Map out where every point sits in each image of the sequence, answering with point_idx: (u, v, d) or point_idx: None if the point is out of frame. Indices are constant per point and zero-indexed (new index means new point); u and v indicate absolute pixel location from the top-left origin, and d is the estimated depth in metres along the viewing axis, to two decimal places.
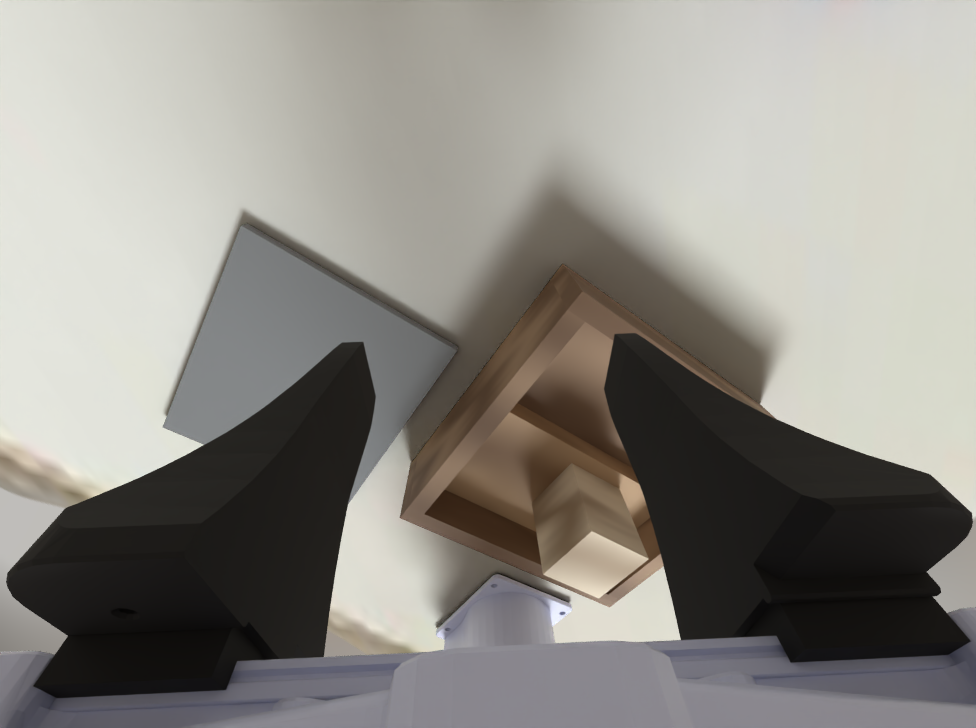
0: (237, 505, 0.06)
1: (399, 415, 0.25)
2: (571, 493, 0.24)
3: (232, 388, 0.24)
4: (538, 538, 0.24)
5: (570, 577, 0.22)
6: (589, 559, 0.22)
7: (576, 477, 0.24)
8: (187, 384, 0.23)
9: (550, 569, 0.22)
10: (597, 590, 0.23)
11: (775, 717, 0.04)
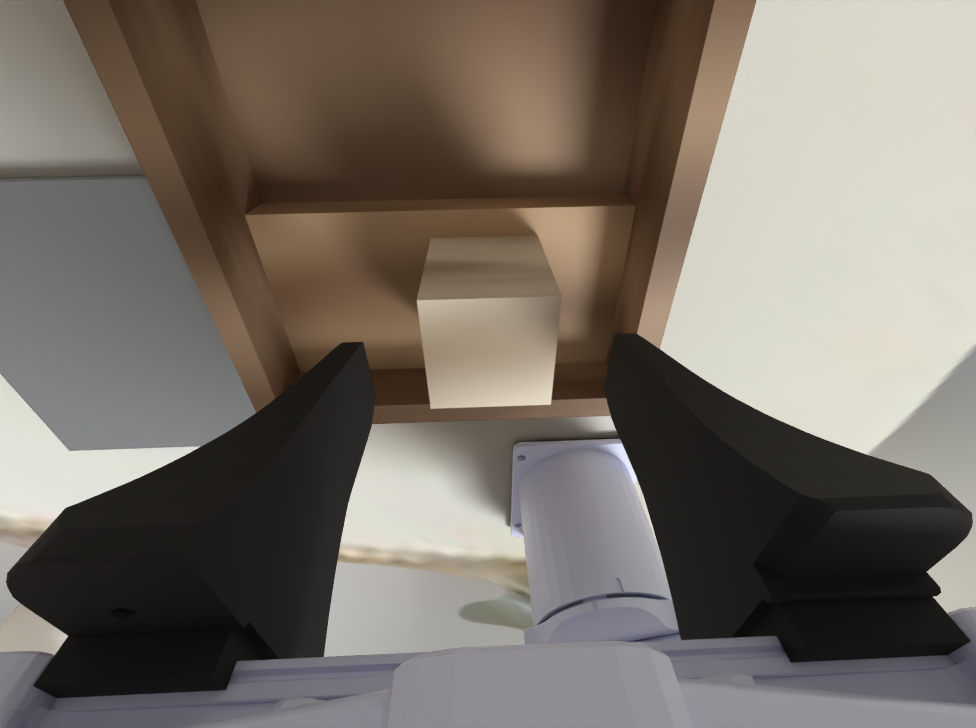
0: (237, 505, 0.06)
1: None
2: None
3: (61, 380, 0.20)
4: None
5: (471, 393, 0.13)
6: (466, 350, 0.12)
7: (430, 249, 0.14)
8: (31, 399, 0.21)
9: (432, 396, 0.13)
10: (535, 393, 0.13)
11: (775, 717, 0.04)
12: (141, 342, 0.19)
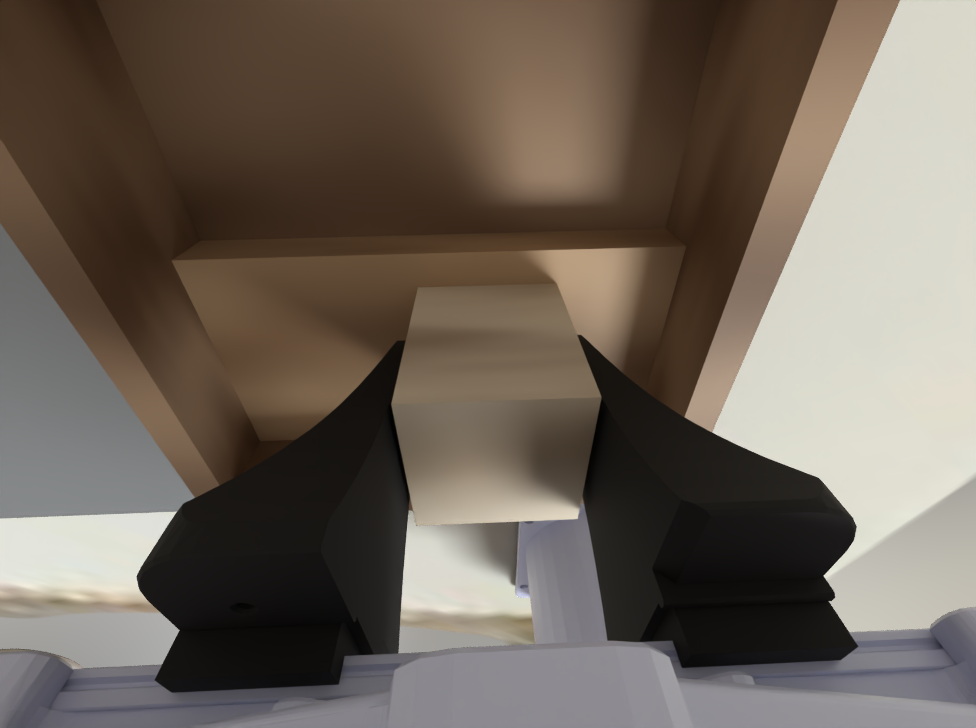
0: (348, 501, 0.06)
1: None
2: None
3: None
4: None
5: (471, 509, 0.10)
6: (464, 462, 0.09)
7: (416, 307, 0.11)
8: None
9: (418, 513, 0.10)
10: (556, 507, 0.10)
11: (775, 717, 0.04)
12: (66, 403, 0.16)
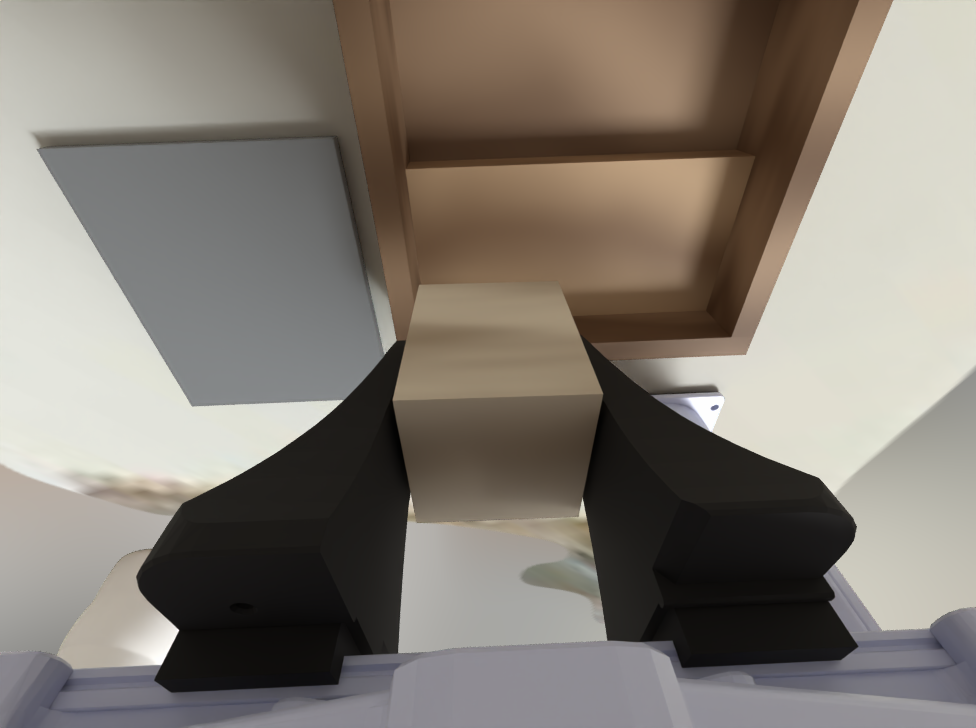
0: (347, 501, 0.06)
1: (349, 267, 0.20)
2: None
3: (198, 335, 0.22)
4: None
5: (472, 506, 0.10)
6: (465, 458, 0.09)
7: (417, 304, 0.11)
8: (168, 354, 0.23)
9: (418, 510, 0.10)
10: (557, 505, 0.10)
11: (775, 717, 0.04)
12: (278, 297, 0.21)
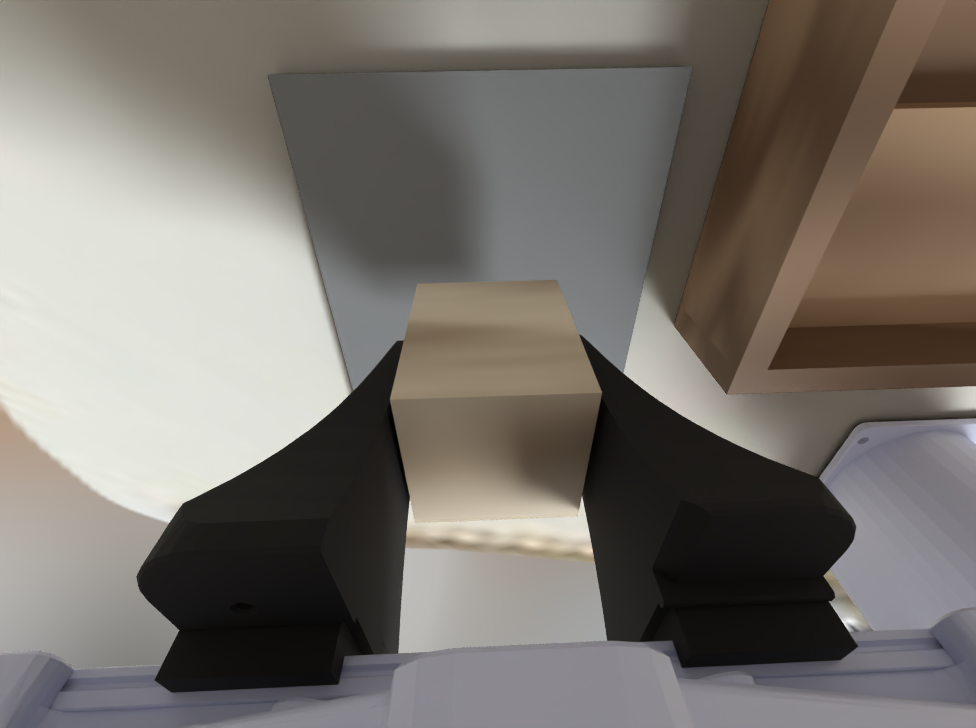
0: (348, 501, 0.06)
1: (633, 255, 0.15)
2: None
3: None
4: None
5: (470, 505, 0.10)
6: (463, 458, 0.09)
7: (415, 303, 0.11)
8: (355, 366, 0.18)
9: (417, 510, 0.10)
10: (556, 504, 0.10)
11: (775, 717, 0.04)
12: None
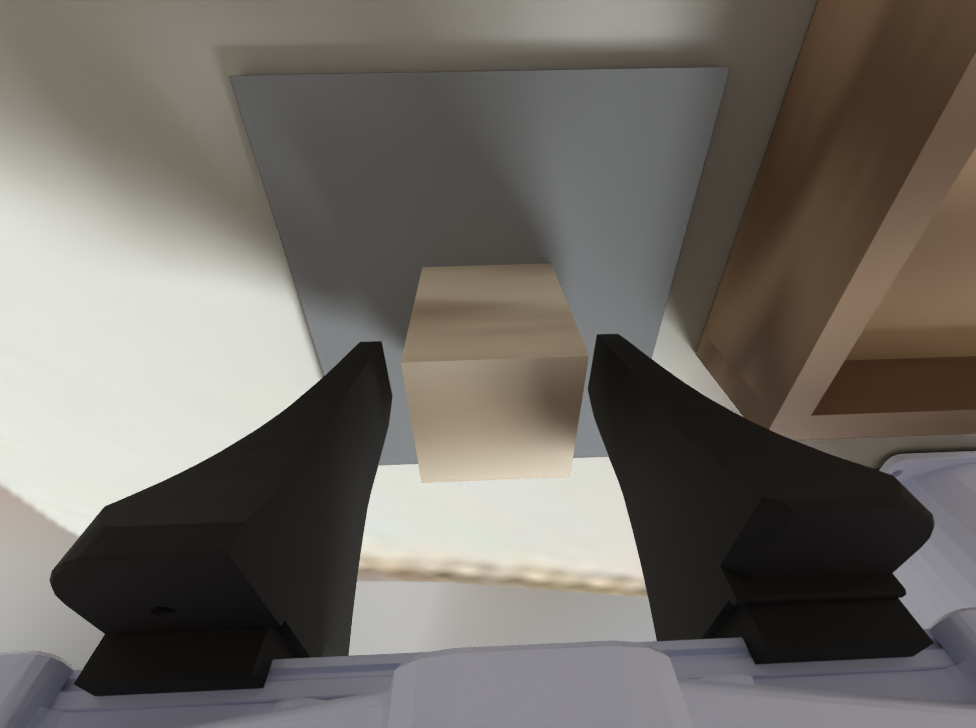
0: (274, 503, 0.06)
1: (654, 280, 0.13)
2: None
3: (394, 375, 0.15)
4: None
5: (472, 466, 0.11)
6: (465, 419, 0.10)
7: (421, 283, 0.12)
8: None
9: (423, 469, 0.11)
10: (550, 465, 0.11)
11: (775, 717, 0.04)
12: None
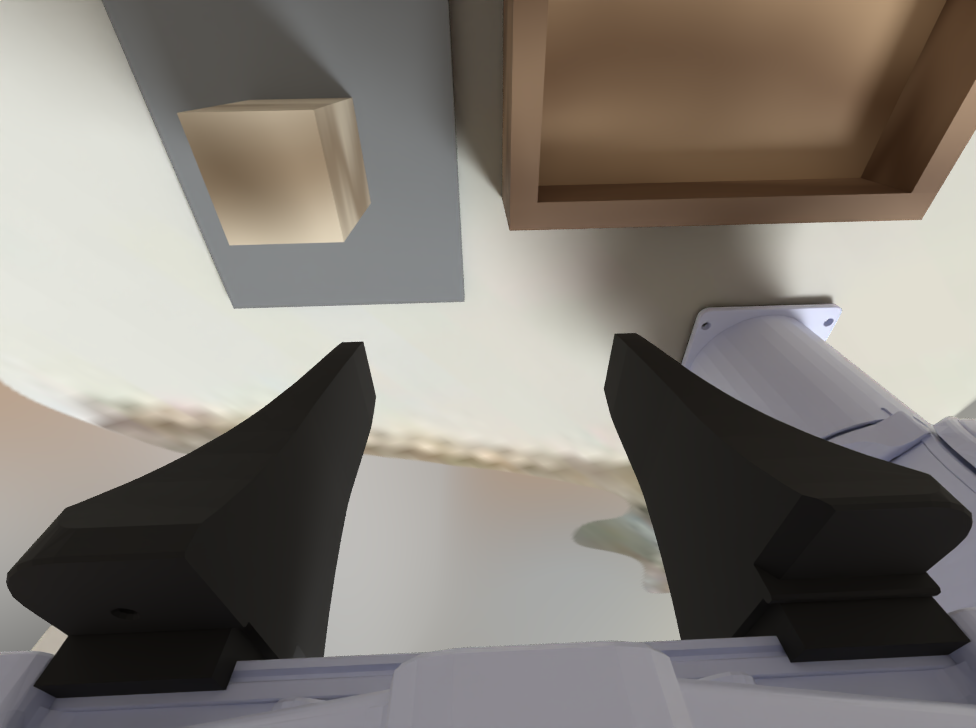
0: (237, 505, 0.06)
1: (439, 115, 0.17)
2: None
3: None
4: None
5: (263, 227, 0.14)
6: (242, 174, 0.13)
7: (237, 102, 0.15)
8: (211, 236, 0.19)
9: (226, 230, 0.14)
10: (324, 227, 0.14)
11: (775, 717, 0.04)
12: None
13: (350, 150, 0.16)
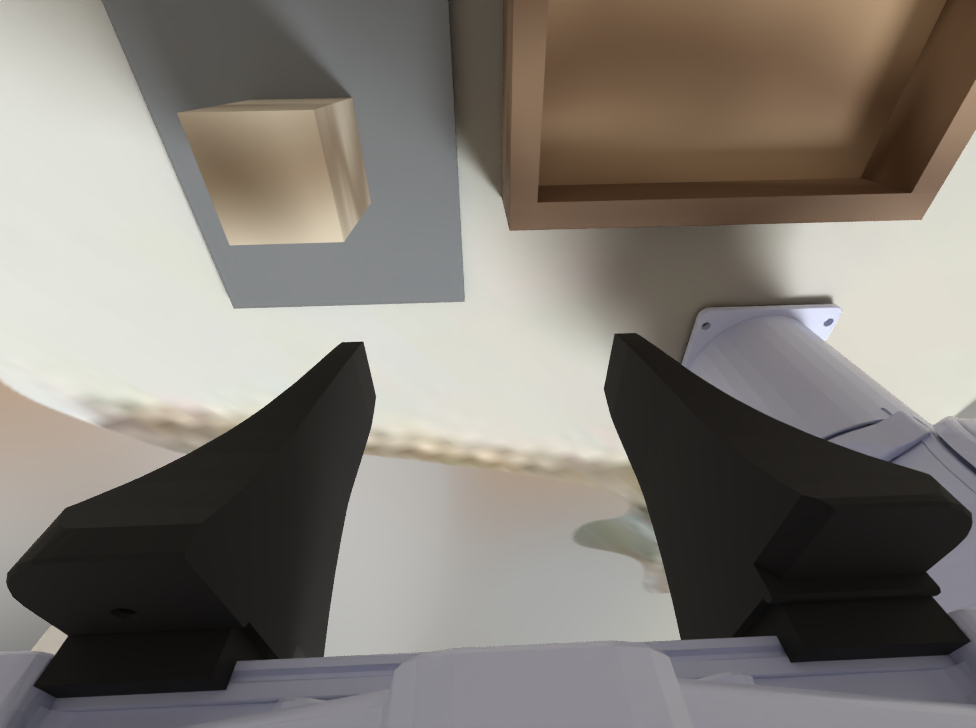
0: (237, 505, 0.06)
1: (439, 115, 0.17)
2: None
3: None
4: None
5: (263, 227, 0.14)
6: (242, 174, 0.13)
7: (238, 102, 0.15)
8: (211, 235, 0.19)
9: (226, 230, 0.14)
10: (324, 227, 0.14)
11: (775, 717, 0.04)
12: None
13: (350, 150, 0.16)
